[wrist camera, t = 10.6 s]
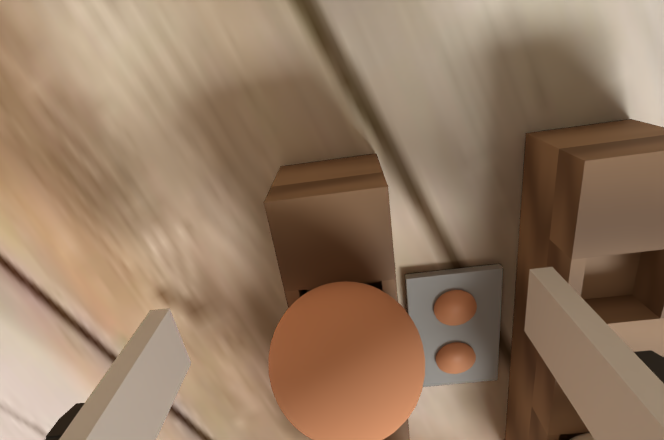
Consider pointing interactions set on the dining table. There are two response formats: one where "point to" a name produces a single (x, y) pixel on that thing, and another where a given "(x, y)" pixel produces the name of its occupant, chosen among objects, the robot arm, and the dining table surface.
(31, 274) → the dining table surface
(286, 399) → the rust ball
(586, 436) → the cream ball
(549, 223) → the rack
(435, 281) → the card
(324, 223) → the rack
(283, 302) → the dining table surface
